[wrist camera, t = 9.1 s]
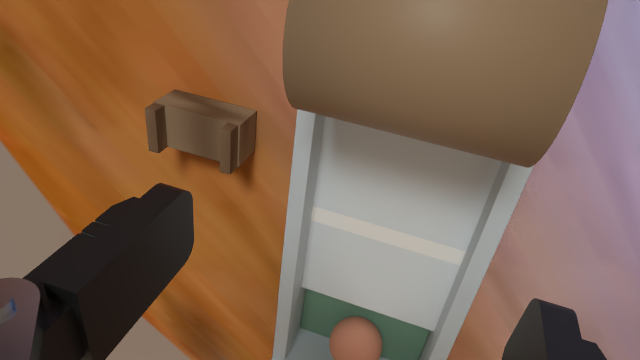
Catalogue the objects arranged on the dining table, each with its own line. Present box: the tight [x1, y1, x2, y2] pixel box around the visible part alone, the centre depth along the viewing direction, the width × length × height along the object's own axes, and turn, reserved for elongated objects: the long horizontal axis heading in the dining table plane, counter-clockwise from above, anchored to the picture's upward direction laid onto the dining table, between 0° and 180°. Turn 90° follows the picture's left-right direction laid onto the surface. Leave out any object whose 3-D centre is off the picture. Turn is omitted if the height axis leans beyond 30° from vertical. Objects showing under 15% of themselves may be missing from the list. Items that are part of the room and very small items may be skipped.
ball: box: [329, 316, 382, 360], centre depth 34 cm, size 4×4×4 cm
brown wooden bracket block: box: [145, 90, 257, 174], centre depth 29 cm, size 6×3×3 cm, turn 83°
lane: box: [271, 0, 608, 360], centre depth 26 cm, size 12×32×10 cm, turn 173°
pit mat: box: [300, 289, 430, 360], centre depth 36 cm, size 10×6×1 cm, turn 83°
